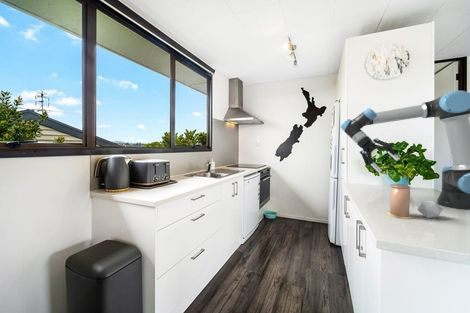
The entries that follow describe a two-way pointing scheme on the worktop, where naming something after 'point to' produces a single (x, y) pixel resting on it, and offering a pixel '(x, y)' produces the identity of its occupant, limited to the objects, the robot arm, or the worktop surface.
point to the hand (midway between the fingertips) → (389, 166)
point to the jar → (400, 200)
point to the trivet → (399, 216)
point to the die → (429, 209)
